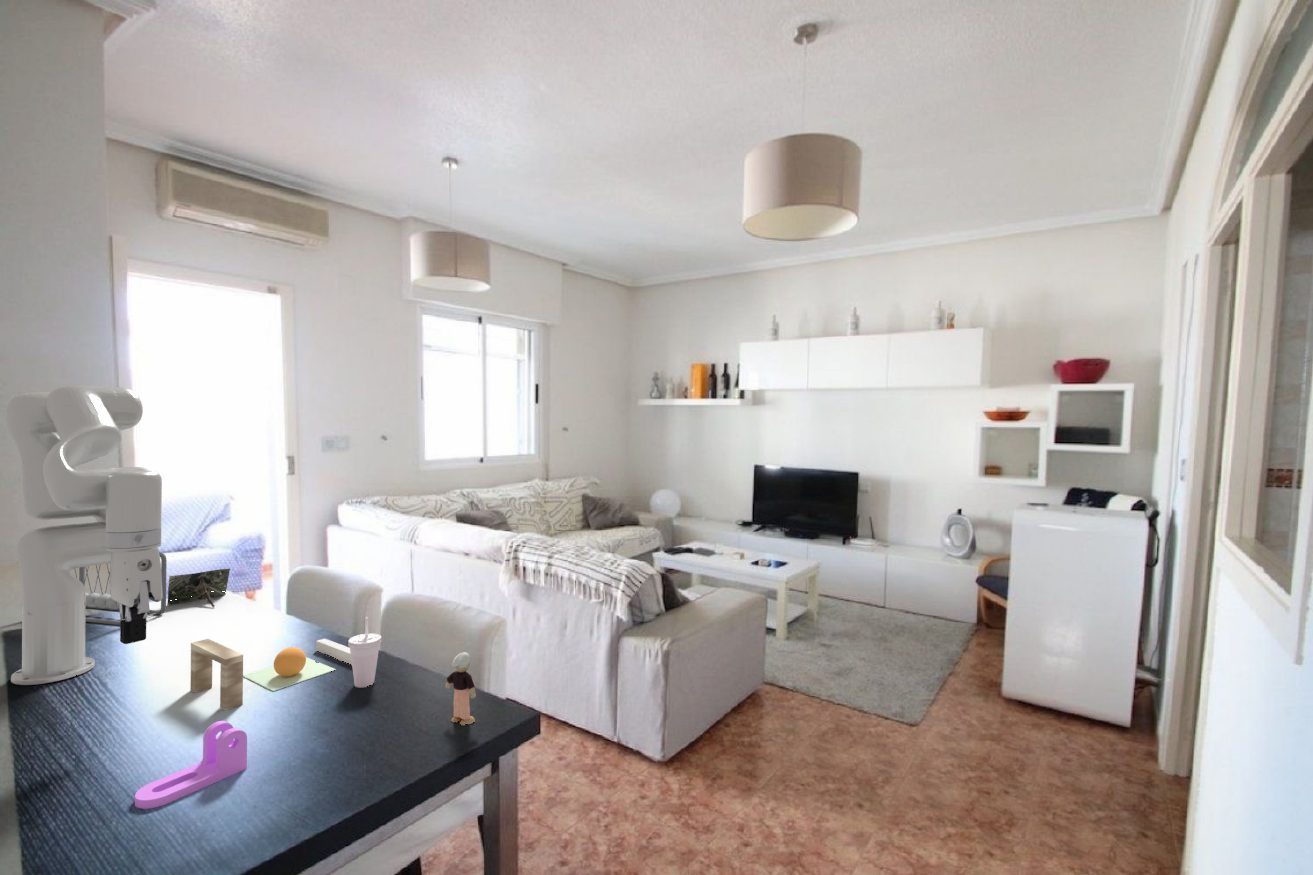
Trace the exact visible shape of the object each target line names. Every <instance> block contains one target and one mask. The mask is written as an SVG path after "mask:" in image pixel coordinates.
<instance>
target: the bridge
mask: <svg viewBox="0 0 1313 875" xmlns="http://www.w3.org/2000/svg"><path fill="white" fill-rule="evenodd" d="M213 661H215V662H216V663H219V664H220V673H219V674H220V675H219V676H220V682H219V683H220V684H219V686H220V690H219V691H220V692H219V693H220V694H219V708H220V709H222V710H224V711H227V710H230V709H232V708H235V707H238V706H239V707H240V706H242V705H244V704H243V701H244V699H243V698H244V697H243V696H244V695H243V694H244V690H243V689H244V677H243V675H244V654H243V653H240V652H238V651H236V650H234V649H232V648H229V647H227V646H225V645H223V644H220V643H219V642H217V641H214V640H212V639H209V638H205V639H201V640H198V641H193V642H190V687H189V688H190V691H191V692H192V693H194V694H195V693H199V692H202V691H205V690H208V689H212V688H213Z"/></svg>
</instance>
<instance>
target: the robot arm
mask: <svg viewBox="0 0 1313 875" xmlns="http://www.w3.org/2000/svg"><path fill="white" fill-rule="evenodd" d="M143 412H144V411H143V404H142V401H141V399H140V397H139V395H138V394H137V393H135V391H133V390H131V389H129V388H126V387H120V386H119V387H117V386H101V385H99V386H98V385H85V384H84V385H82V384H80V385H79V384H77V385H76V384H73V385H71V384H70V385H64V386H60V387H56V388H55V389H53V390H52V391H51V392H48V391H45V392H43V391H41V392H24V393H21V394H20V393H19V394H17V395H14V396H12V397H10V399H9V400H8V401H7V403H6V406H5V412H4V413H5V414H4V416H5V422H6V423H5V424H6V427H7V429H8V432H9V434H10V437H11V438H12V441H13V442H14V444H15V446H16V448H17V451H18V453H19V455H20V461H21V462H20V463H21V479H22V496H23V505H24V510H25V512H26V514H27V515H28V517H29V518H31V519H34V520H41V521H46V520H47V521H48V520H65V519H75V518H77V519H78V518H86V517H87V518H89V517H93V518H94V519H95V520H96V521H94V522H93V521H92V522H83V523H71V524H59V525H48V526H44V527H37V528H35V529H31V530H28V531H27V532H25V533H24V534H22V535H20V537H19V538H18V539H17V542H16V544H15V552H16V558H17V563H18V567H19V573H20V578H21V579H20V581H21V594H22V595H21V597H22V599H21V601H22V602H21V605H22V606H21V608H22V609H21V612H22V613H21V614H22V615H21V617H22V618H21V619H22V621H21V622H22V623H21V624H22V625H21V627H22V628H21V668H20V669H18V670H16V671H15V672H13V673H12V674H11V675H10V676H11V677H10V682H11V683H12V684H14V685H19V686H32V685H33V686H34V685H35V686H36V685H44V684H48V683H49V684H50V683H54V682H59V681H63V680H68V679H71V678H73V677H74V678H75V677H77V676H79V675H83V674H85V673H87V672H88V671H90V670H92V669H93V668H94V667H95V664H96V660H95V659H94V658H92V657H90V656H89V657H87V656H86V622H85V617H86V613H87V612H86V608H87V607H86V593H87V592H86V588H85V587H84V585H83V583H82V582H81V581H80V580H79V578H78V577H77V578H76V576H74V575H73V574H72V573H71V572H70V570H76V569H79V567H85V566H86V567H88V566H89V567H91V566H96V565H97V566H98V565H99V566H100V564H101V565H105V564H106V563H107V564H110V565H109V572H110V578H109V580H108V584H109V585H108V586H109V595H110V596H111V598H112V599H113V600H115V601H117V602H118V603H119V605H120V611H119V618H120V620H119V621H120V625H119V627H120V629H119V631H120V633H119V640H120V642H121V643H122V644H124V645H129V644H133V643H137V642H141V641H145V640H146V639H147V618H148V617H147V615H148V614H147V612H149V611H150V610H151V609H150V601H152V602H155V603H159V602H161V599H162V574H161V557H160V555H159V552H160V551H159V547H161V546H162V505H163V504H162V502H163V501H162V497H163V496H162V494H163V493H162V492H163V491H162V489H163V488H162V487H163V485H162V484H163V483H162V482H163V479H162V476H161V475H160V473H159V472H157V471H154V470H149V469H147V468H146V467H140V466H125V467H123V466H121V467H88V468H86V467H85V468H79V467H78V466H80V465H83V464H85V463H88V462H92V461H94V460H98V459H101V458H103V457H106V456H107V455H109V454H111V453H112V452H114V451H115V450H116V449H117V448H118V447H119V446H120V445H121V442H122V433H121V431H123V430H128V429H130V428H133V427H135V426H137V425H138V424H139V423H140V421H141V420H142V417H143ZM107 564H106V565H107ZM76 675H77V676H76Z"/></svg>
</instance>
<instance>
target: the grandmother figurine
mask: <svg viewBox="0 0 1313 875" xmlns="http://www.w3.org/2000/svg"><path fill="white" fill-rule="evenodd" d="M470 659H471V655H470V654H469V652H466V651H463V652H460V653H458V654H457V655H456V656H455V657H454V659H453V660H452V663H451V667H452V668H455V670H456V671H453V672H452V673H450V674H449V675H448V676H447V677H446V682H445V686H444V688H445V689H450V688H451V686H453V689H454V692H453V717H452V718H451V719H450V722H451V721H452V722H451V723H454V722H456V723H459V725H460V724H461V726H466V725H465V724H468V725H471V724H474V723H475V722H476V719H475V717H474V716H472V715H471V707H470V699H475V698H476V697H477V695H476V688H475V684H474V681H473V677H472V675H471V674H470V673H469V672H467V671H468V670H469V668H470V666H471V664H470V662H471V660H470ZM452 684H453V685H452ZM462 719H463V720H462ZM460 720H461V721H460ZM458 721H459V722H458ZM473 722H474V723H473Z"/></svg>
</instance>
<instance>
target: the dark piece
mask: <svg viewBox="0 0 1313 875" xmlns="http://www.w3.org/2000/svg"><path fill="white" fill-rule="evenodd" d="M230 571H231V568H220V569H212V570H207V571H200V572H196V573H195V572H194V573H187V574H176V575H169V579H168V587H167V602H166V607H167V606H172V605H177V604H182V603H187V602H193V601H200V600H204V599H206V600H207V602H208V603H209V604H210V605H211V607H212V608H215V607H216V606H215V604H214V602H213V600H212V598H214V597H220V596H225V595H226V594H227V589H228V581H229V577H230ZM211 591H214V592H211ZM222 591H225V592H226V593H225V592H222ZM191 596H192V597H191ZM175 599H177V600H175ZM170 600H172V601H170Z"/></svg>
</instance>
